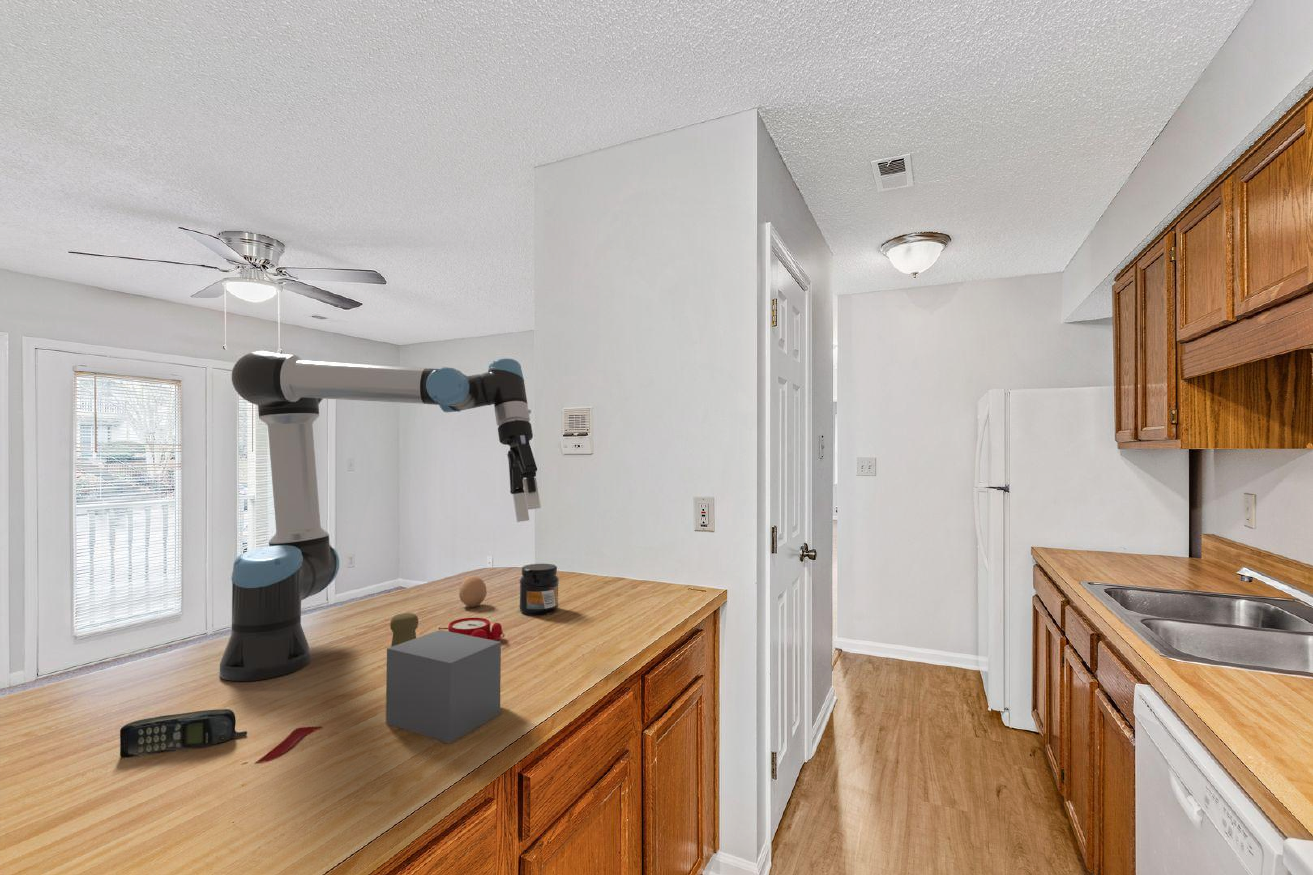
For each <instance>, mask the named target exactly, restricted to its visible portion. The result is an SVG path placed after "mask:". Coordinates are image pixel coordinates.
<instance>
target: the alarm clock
mask: <svg viewBox="0 0 1313 875" xmlns="http://www.w3.org/2000/svg"><path fill="white" fill-rule="evenodd" d="M502 628H503V627H502V624H501V623H499V622H494V623H493V625H492V627H491V621H490V620H489V619H488V618H483V617H465V618H459V619H456V620H453V621H451V622H449V624H448V627H438V630H447V631H449V632H454V633H459V634H464V635H469V636H474V637H479V638H484V639H489V640H494V641H500V639H502V638H504V637H505V636H506V634H505V633H504V632H503V629H502Z"/></svg>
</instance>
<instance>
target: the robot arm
mask: <svg viewBox="0 0 1313 875" xmlns="http://www.w3.org/2000/svg"><path fill="white" fill-rule="evenodd" d="M522 370H523V369H522V366H521V364H520V362H518V361H517V360H515V359H513V358H499V359H497V360H493V361H492V362H490V364H488V370H487V371H488V372H487V371H486V372H483V373H479V374H478V373H477V374H473V375H466V374H464V373H463V372H462V371H460V370H458V369H457V368H454V367H447V366H446V367H439V368H427V367H417V366H416V367H413V366H412V367H411V366H399V365H398V366H396V365H383V364H382V365H381V364H364V363H349V362H345V363H344V362H331V361H315V360H302V358H301V357H299V356H298V355H295V354H287V353H286V354H285V353H277V352H273V351H270V350H269V351H267V350H258V351H252V352H248V353H247V354H244V355H243V356H242V357H240V358H239V359H238V360H237V362H235V364H234V366H233V367H232V371H231V383H232V386H233V388H234V390H235V391H236V392H237V394H238V395H239V397H241V398H242V399H244V400H245V401H246V402H248V403H250V404H252V405H256V406H257V409H258V419H259V420H261V421H262V422H263V423H265V425H266V426H267V433H268V434H267V435H268V445H269V447H268V448H269V457H270V458H269V459H270V469H271V470H270V471H271V484H272V485H271V486H272V495H273V509H274V520H275V521H274V522H275V534H274V535H273V536H272V537H271V538H270V539H269V541H268V546H264V547H261V548H254V549H251V550H248V551H246V552H243V553H242V554H239V555H238V556H237V557H236V559H235V560H234V562H233V565H232V566H233V568H232V573H231V581H232V582H231V584H232V586H231V635H230V637H229V640H228V642H227V644H226V647H225V650H224V652H223V655H222V657H221V660H220V663H219V677H220V678H221V679H222V680H226V681H230V682H251V681H252V682H253V681H254V682H255V681H261V680H266V679H272V678H276V677H280V676H284V675H287V674H291V673H294V672H295V671H298V670H300V669H302V668H304V667H305V666H307V665H308V664H309V663H310V661H311V649H310V646H309V643H308V639H307V638H306V634H305V631H304V630H303V626H302V618H301V617H302V601H303V600H305V599H307V598H309V597H312V596H316V594H319V593H321V592H322V591H324V590H325V589H326V588H327V587H328V586H330V585H331V583H332V582H333V581H334V580H335V578H336V577H337V575H338V573H339V570H340V557H339V554H338V552H337V550H336V549H335V548H334V547H333V546H332V545H331V543H330V535H329V532H327V531H326V530H325V529H323V527H322V526H321V516H320V513H321V512H320V502H319V493H318V492H319V490H318V478H317V476H318V475H317V465H316V456H315V455H316V454H315V442H314V441H315V440H314V427H313V423H314V422H315V421H316V420H317V419H318V418H319V417H320V409H319V408H320V407H319V405H320V403H321V402H322V401H323V400H324V399H325V400H326V399H327V400H328V399H329V400H347V401H361V402H362V401H364V402H386V403H400V404H401V403H402V404H403V403H404V404H420V405H421V404H422V405H435V406H439V408H440V409H441V410H442V411H443V412H444V413H453V412H459V413H460V412H462V411H465V410H471V409H475V408H480V407H481V408H482V407H486V406H492V405H493V406H494V415H495V421H496V426H497V434H498V438H499V439H498V440H499V443H500V444H502V445H507V446H509V450H508V451H507V452H508V453H507V460H508V472H509V474H508V475H509V487H510V490H509V492H510V495H512V498H513V504H514V512H515V517H516V523H520V522H527V521H530V516H529V510H535V509H540V508H541V501H540V494H539V489H538V488H539V487H538V482H537V471H538V467H537V464H536V460H535V457H534V453H533V450H532V448H531V444H530V441H531V440H532V439H533V436H534V434H533V429H532V424H531V422H530V421H531V417H530V414H531V413H532V410H531V409H529V406H528V398H527V392H526V385H525V378H524V375H523V371H522Z"/></svg>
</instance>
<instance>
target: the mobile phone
mask: <svg viewBox="0 0 1313 875" xmlns="http://www.w3.org/2000/svg"><path fill="white" fill-rule="evenodd" d="M236 720H237V719H236V714H235V712H234V711H233V710H231V709H230V708H229V709H228V708H224V709H223V708H221V709H206V710H197V711H191V712H189V711H188V712H184V713H183V712H182V713H177V714H176V713H175V714H167V715H160V716H156V717H148V718H143V719H138V720H135V721H132V722H128V723H126V724H125V725H123V726H122V727H121V728H120V730H119V744H120V745H119V756H120V758H125V757H127V758H134V757H140V755H141V756H147V755H155V754H162V753H167V752H169V753H170V752H177V751H176V750H178V751H183V750H185V751H187V750H195V749H202V748H205V747H211V746H213V745H217V744H220V743H222V742H225V741H228V740H230V739H235V738H240V737H247V735H248V731H247V730H246V731H245V730H244V731H237V730H236V724H237V723H236ZM154 753H155V754H154ZM133 756H134V757H133Z"/></svg>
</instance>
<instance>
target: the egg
mask: <svg viewBox="0 0 1313 875" xmlns="http://www.w3.org/2000/svg"><path fill="white" fill-rule="evenodd" d="M487 592H488V591H487V586H486V583H485V582H484V580H483V579H482V578H481V577H480V576H478V575H470V576H468V577H466V578H465V579H464V580H463V581H462V583H461V585H460V587H459V591H458V596H459V600H460V601H461V602H462V603H463V604H464V605H465V606H467V607H471V608H474V607H477V606H479V605H481V604H482V603H483V601H485V599H486V597H487Z"/></svg>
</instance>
